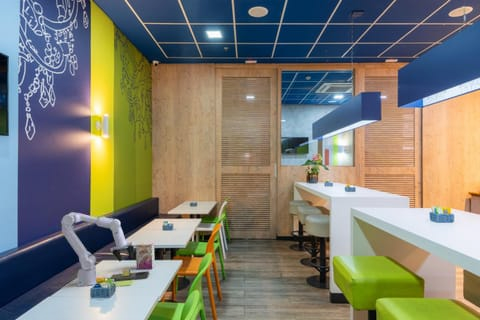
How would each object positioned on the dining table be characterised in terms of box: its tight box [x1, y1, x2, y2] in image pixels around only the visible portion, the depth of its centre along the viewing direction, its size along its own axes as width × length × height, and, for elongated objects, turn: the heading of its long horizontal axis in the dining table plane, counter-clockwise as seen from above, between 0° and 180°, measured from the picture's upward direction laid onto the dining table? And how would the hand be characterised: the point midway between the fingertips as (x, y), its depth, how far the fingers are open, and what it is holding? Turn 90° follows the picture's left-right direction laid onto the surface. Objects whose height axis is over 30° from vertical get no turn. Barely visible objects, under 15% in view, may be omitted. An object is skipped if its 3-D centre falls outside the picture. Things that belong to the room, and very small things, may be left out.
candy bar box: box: [135, 242, 156, 270], centre depth 203 cm, size 11×5×16 cm, turn 84°
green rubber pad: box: [115, 280, 134, 288], centre depth 177 cm, size 10×7×1 cm
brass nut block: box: [121, 267, 132, 277], centre depth 185 cm, size 4×4×6 cm
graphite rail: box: [109, 270, 150, 282], centre depth 186 cm, size 22×7×2 cm, turn 99°
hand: (126, 259), depth 185 cm, fingers open, 7 cm apart
